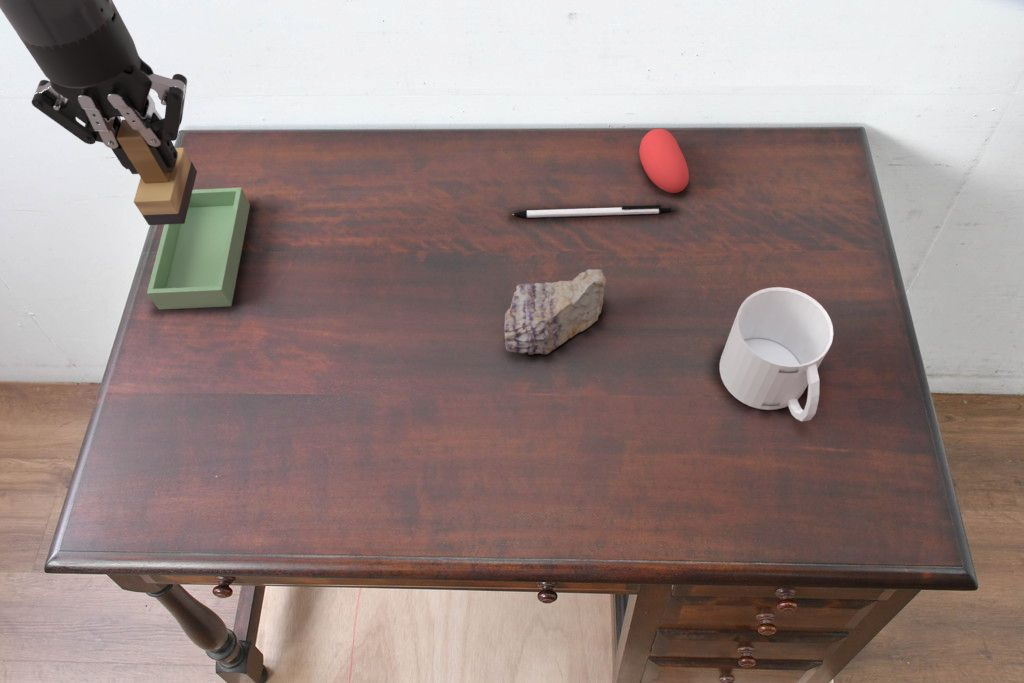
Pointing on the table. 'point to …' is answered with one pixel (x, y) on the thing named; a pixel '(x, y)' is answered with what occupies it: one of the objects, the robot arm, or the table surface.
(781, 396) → the mug
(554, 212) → the pen
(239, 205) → the tray
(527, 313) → the mineral specimen
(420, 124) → the table surface
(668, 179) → the stress ball
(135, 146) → the scrub brush
